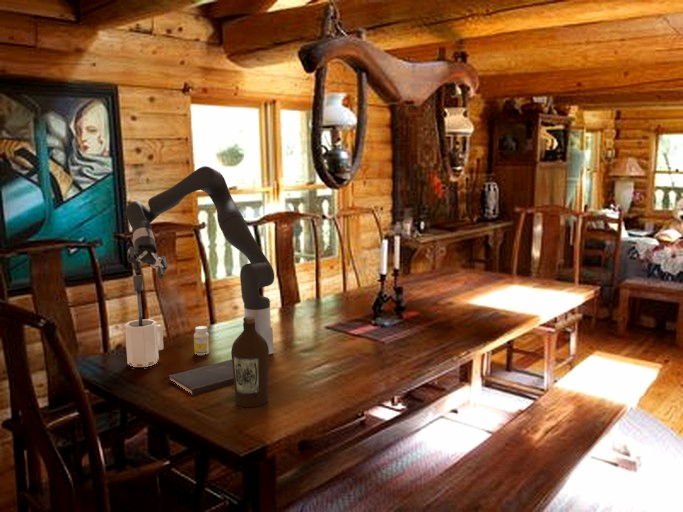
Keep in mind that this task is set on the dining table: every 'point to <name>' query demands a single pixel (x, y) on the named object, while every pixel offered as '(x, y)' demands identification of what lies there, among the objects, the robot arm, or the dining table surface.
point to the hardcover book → (205, 377)
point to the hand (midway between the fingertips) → (149, 274)
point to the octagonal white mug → (143, 343)
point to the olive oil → (250, 366)
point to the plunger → (138, 296)
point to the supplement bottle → (201, 341)
